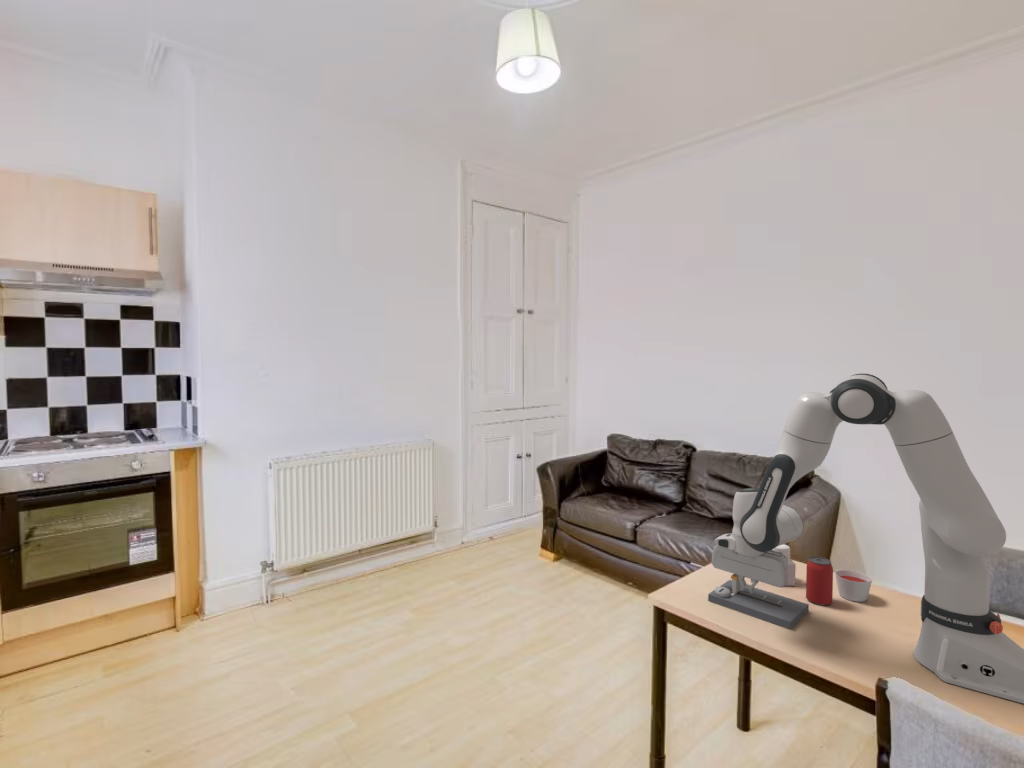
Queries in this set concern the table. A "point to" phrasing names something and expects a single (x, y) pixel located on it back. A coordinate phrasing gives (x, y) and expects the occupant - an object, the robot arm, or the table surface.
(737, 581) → the fader
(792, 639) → the table surface
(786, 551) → the medicine bottle
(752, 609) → the console
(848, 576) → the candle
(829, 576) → the beer can
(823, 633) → the table surface
